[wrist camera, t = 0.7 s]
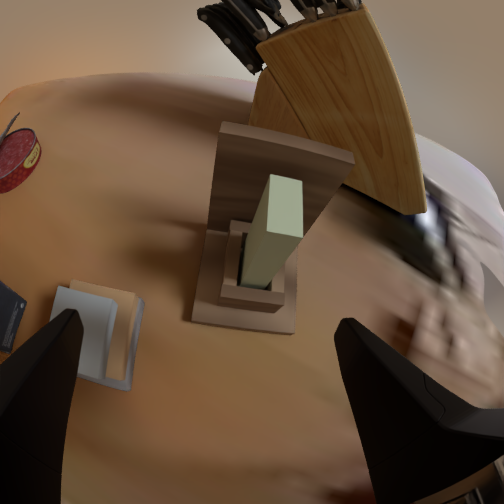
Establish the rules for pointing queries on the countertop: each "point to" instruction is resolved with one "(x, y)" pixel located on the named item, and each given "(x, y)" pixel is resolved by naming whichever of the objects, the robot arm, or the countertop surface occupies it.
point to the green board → (272, 232)
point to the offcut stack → (104, 331)
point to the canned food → (17, 156)
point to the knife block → (329, 88)
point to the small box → (9, 316)
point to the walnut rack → (242, 214)
